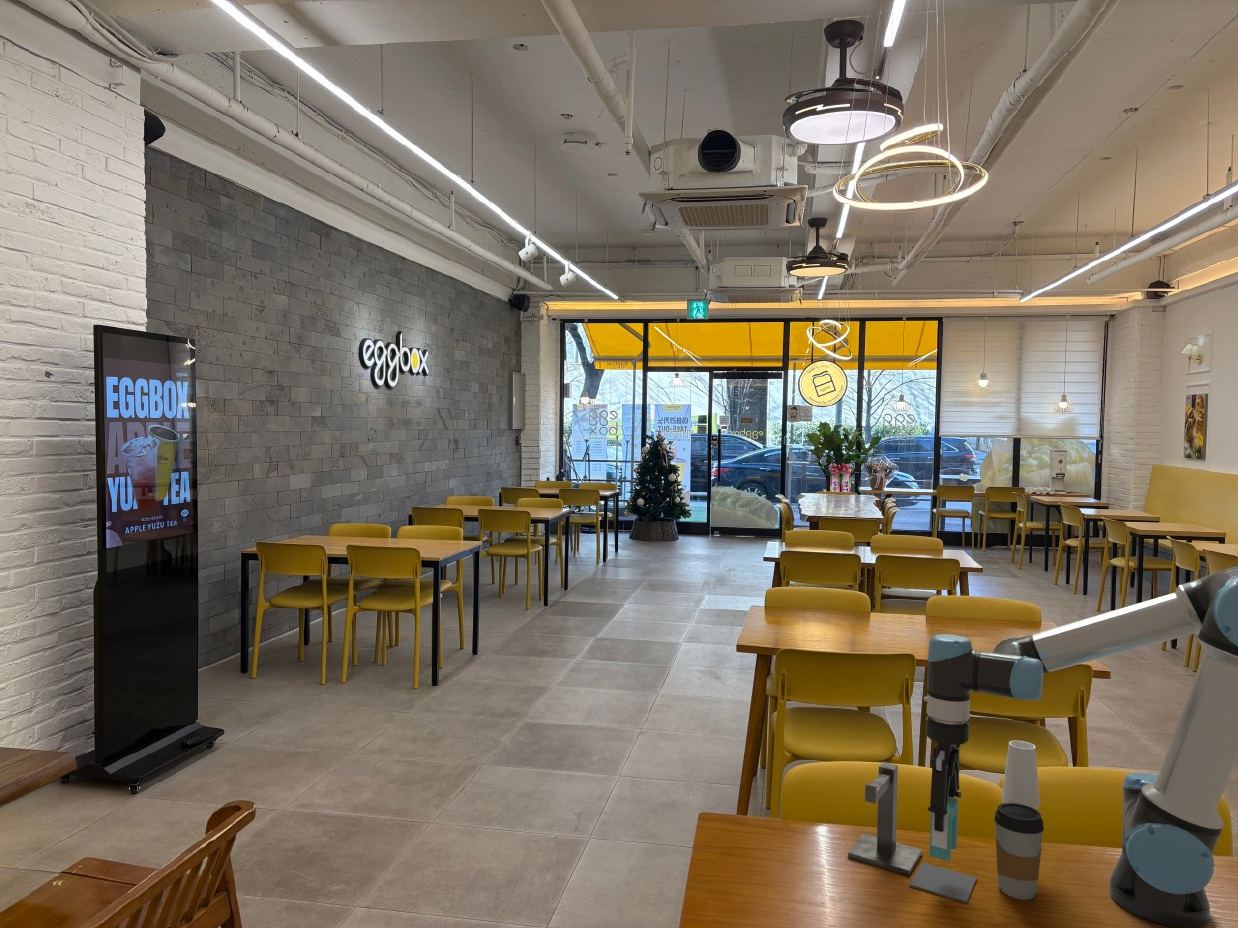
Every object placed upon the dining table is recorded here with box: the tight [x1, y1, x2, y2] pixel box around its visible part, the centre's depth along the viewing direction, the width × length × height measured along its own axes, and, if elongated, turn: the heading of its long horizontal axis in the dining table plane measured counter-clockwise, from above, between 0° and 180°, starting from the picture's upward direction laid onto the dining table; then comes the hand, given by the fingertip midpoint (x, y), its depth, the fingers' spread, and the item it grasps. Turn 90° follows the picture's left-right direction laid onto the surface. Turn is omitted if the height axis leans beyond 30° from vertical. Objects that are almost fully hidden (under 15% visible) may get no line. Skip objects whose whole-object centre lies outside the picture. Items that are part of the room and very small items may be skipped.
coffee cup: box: [993, 802, 1045, 901], centre depth 150 cm, size 8×8×15 cm
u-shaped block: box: [929, 798, 959, 862], centre depth 153 cm, size 7×4×9 cm, turn 147°
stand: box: [847, 761, 923, 876], centre depth 160 cm, size 12×16×18 cm
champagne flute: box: [1001, 740, 1041, 811], centre depth 160 cm, size 7×7×24 cm
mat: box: [909, 862, 978, 904], centre depth 153 cm, size 10×10×1 cm
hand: (943, 837), depth 153 cm, fingers closed on u-shaped block, 7 cm apart
